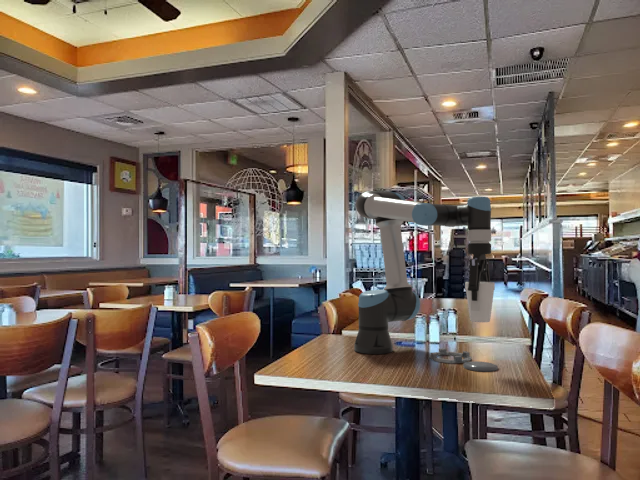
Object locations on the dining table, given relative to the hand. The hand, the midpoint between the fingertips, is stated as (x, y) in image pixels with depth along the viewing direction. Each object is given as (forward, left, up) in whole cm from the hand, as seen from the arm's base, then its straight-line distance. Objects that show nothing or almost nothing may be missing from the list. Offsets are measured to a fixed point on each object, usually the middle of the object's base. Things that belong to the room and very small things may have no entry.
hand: (479, 309), depth 165 cm
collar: (-13, +7, -20) cm, 25 cm away
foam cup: (0, 0, -4) cm, 4 cm away
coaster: (0, 0, -20) cm, 20 cm away
